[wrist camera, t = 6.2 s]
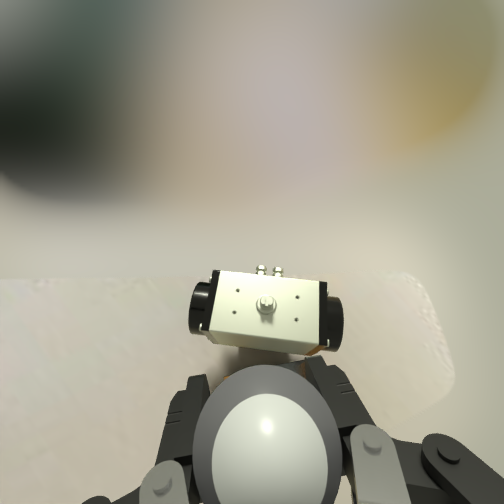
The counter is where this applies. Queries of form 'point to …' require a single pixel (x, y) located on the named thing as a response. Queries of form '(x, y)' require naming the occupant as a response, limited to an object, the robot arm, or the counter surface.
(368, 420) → the robot arm
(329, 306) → the pneumatic valve
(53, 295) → the counter surface
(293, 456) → the bottle
